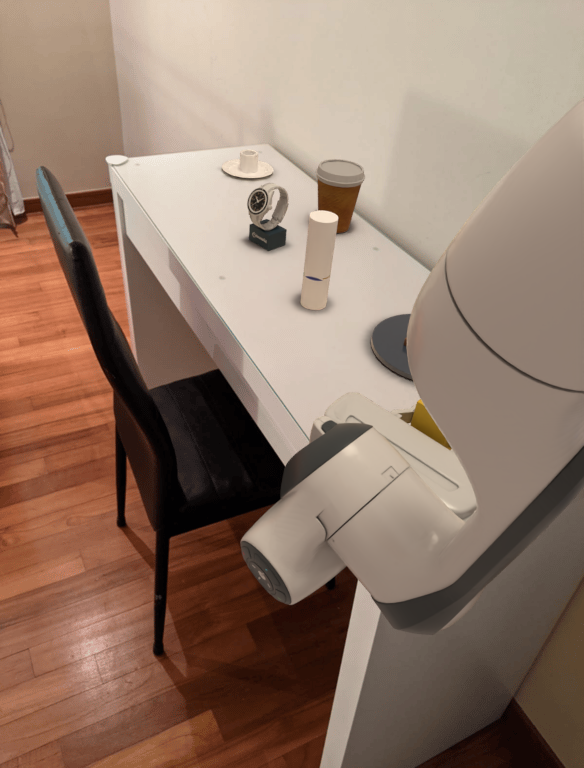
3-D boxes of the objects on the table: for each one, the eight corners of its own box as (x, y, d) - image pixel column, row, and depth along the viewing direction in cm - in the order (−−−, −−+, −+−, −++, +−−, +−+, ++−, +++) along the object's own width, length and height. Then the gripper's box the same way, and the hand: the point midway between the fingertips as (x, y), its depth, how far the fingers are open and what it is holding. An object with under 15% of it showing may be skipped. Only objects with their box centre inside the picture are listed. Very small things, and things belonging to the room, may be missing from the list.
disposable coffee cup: (357, 219, 127) (366, 161, 119) (356, 239, 119) (366, 179, 112) (311, 213, 127) (318, 155, 119) (308, 233, 119) (314, 173, 112)
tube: (318, 294, 102) (329, 209, 93) (331, 307, 99) (343, 220, 90) (295, 298, 100) (304, 212, 91) (307, 312, 98) (318, 224, 88)
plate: (492, 339, 96) (494, 334, 95) (470, 400, 84) (472, 395, 83) (390, 307, 101) (391, 302, 100) (355, 361, 88) (356, 356, 88)
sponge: (432, 477, 72) (451, 421, 66) (401, 456, 74) (416, 401, 69) (454, 456, 75) (474, 401, 69) (424, 437, 77) (440, 382, 72)
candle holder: (234, 183, 136) (235, 164, 133) (213, 164, 144) (213, 145, 141) (282, 177, 141) (283, 159, 138) (259, 159, 149) (260, 141, 146)
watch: (240, 242, 114) (242, 185, 107) (272, 231, 119) (276, 176, 112) (260, 254, 111) (264, 196, 104) (292, 242, 116) (297, 186, 109)
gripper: (463, 524, 57) (531, 452, 65) (302, 413, 67) (378, 362, 75) (447, 564, 61) (512, 491, 69) (297, 453, 71) (370, 401, 79)
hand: (441, 423), depth 72 cm, fingers open, 5 cm apart
